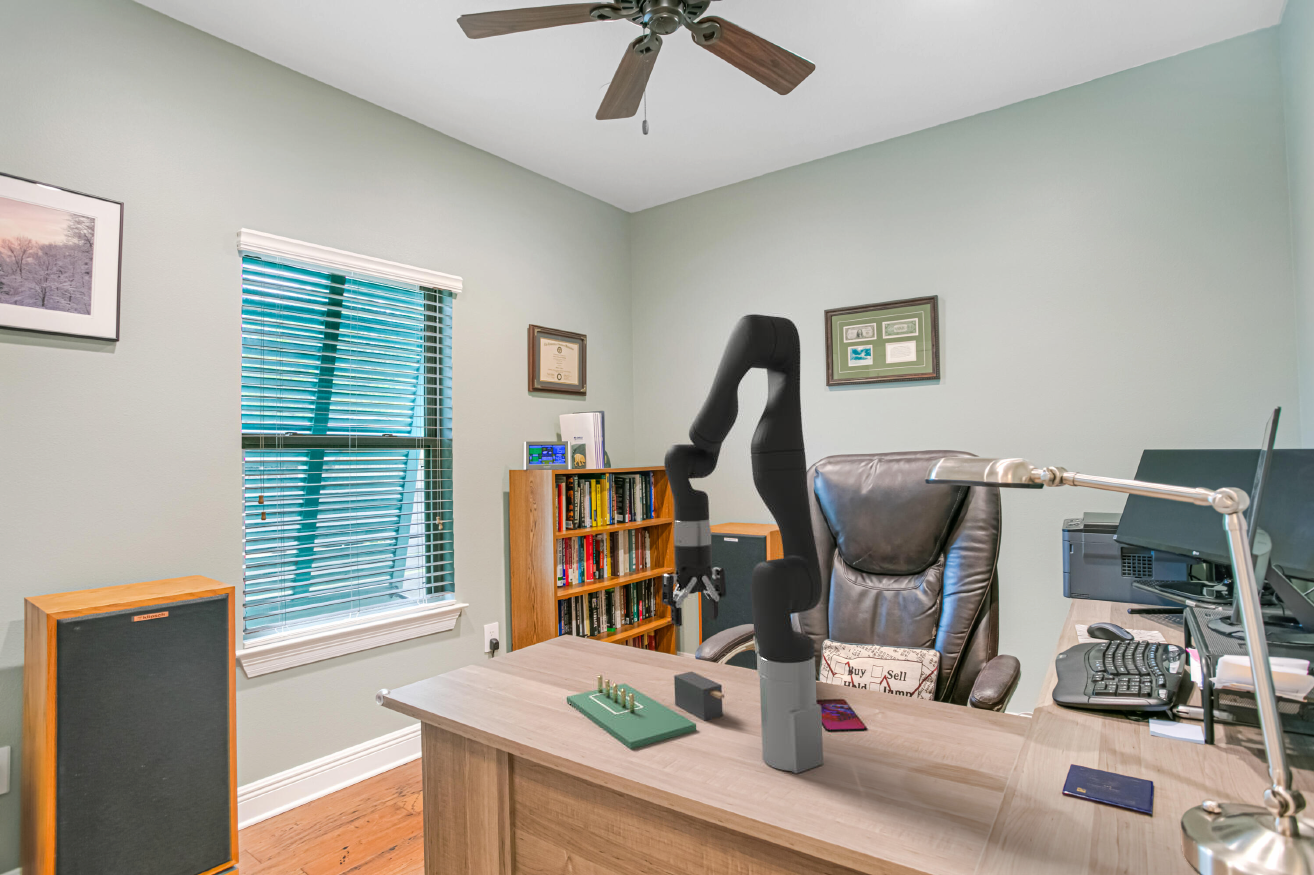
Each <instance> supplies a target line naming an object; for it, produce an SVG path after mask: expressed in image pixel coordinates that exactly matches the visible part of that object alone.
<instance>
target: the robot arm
mask: <svg viewBox="0 0 1314 875" xmlns="http://www.w3.org/2000/svg"><path fill="white" fill-rule="evenodd" d="M750 369H762V370H763V369H764V370H766V373H767V400H766V404H765V406H764V409H763V412H762V414H761V416H760V419H759V420H758V423H757V425H756V427H755V430H754V433H753V435H752V437H751V438H752V439H751V442H750V455H751V456H750V460H751V471H752V479H753V484H754V487H755V489H756V491H757V493H758V495H759V497H760V498H761V500H762V502H763V503H764V504H765V506H766V508H767V509H768V510H769V512H770V514H771V516H772V517H773V519H774V520H775V523H776V524H777V527H778V530H779V533H780V537H781V545H782V553H783V554H782V555H783V558H776V559H770V560H769V559H768V560H764V561H761V562H759V563H757V564H756V565H755V567H754V569H753V571H752V573H751V578H750V598H751V600H750V601H751V609H752V618H753V619H752V620H753V621H752V622H753V631H754V636H755V637H756V641H757V643H758V647H759V669H760V677H759V690H760V694H759V696H760V717H761V718H760V719H761V721H760V722H761V723H760V724H761V725H760V727H761V742H762V743H761V745H762V746H761V747H762V750H761V752H762V759H763V761H764V763H765V764H766V765H768V766H769V767H772V768H773V769H774V768H775V769H778V770H782V771H787V772H791V773H794V774H799V773H802V772H805V771H807V770H811V769H813V768H816V767H819V766H821V765H823V764H824V748H823V747H824V746H823V744H824V743H823V726H822V716H821V706H820V705H819V704H817V703H816V700H817V684H816V682H817V680H816V679H817V678H816V656H815V655H816V653H815V642H814V639H813V638H812V637H811V636H810V635H808V634H806V633H804V632H800V631H796V630H794V627H793V622H792V617H791V615H792V614H799V613H802V612H808V611H811V610H813V609H815V608H817V606H818V605H819V604H820V601H821V599H822V593H823V579H822V571H821V565H820V560H819V555H818V550H817V545H816V539H815V534H814V530H813V529H814V527H813V521H812V515H811V513H812V512H811V506H810V497H809V487H808V473H807V472H808V471H807V470H808V469H807V460H806V459H807V458H806V449H805V442H804V433H803V420H802V419H803V418H802V403H801V402H802V401H801V340H800V335H799V330H798V328H797V326H796V325H795V323H794V322H793V321H792V320H791V319H790V318H786V317H782V316H774V315H764V314H752V313H751V314H746V315H744V316H742V317H741V318H739V319H738V321H737V322H736V323H735V325H734V326H733V329H732V331H731V333H730V335H729V337H728V340H727V342H726V346H725V347H724V350H723V353H722V356H721V359H720V362H719V364H718V368H717V369H716V373H715V377H714V378H713V381H712V385H711V387H710V390H709V392H708V393H707V394H708V395H707V396H706V399H705V401H704V402H703V404H702V406H701V408H700V410H699V411H698V413H697V415H696V416H695V418H694V420H693V421H692V423H691V425H690V427H689V431H688V436H689V439H690V442H692V444H689V443H688V444H684V443H683V444H674V445H671V446H670V447H669V448H668V449H667V451H666V453H665V456H664V464H663V465H664V469H665V474H666V477H667V480H668V484H669V486H670V491H671V494H672V498H673V504H674V505H673V506H674V529H673V538H674V539H673V540H674V541H673V542H674V565H675V568H676V569H675V570H676V571H675V573H673V574H669V573H663V574H662V576H661V604H663V605H667V606H669V607H670V620H671V624H672V623H673V625H674V626H675V627H682V626H683V617H682V616H683V613H682V609H683V608H682V607H681V606H682V604H683V602H684V600H686V599H687V598H688V597H689V595H692V594H696V593H703V594H704V595H705V596H706V598H707V599H708V600H707V601H706V602H707V618H708V620H710V621H716V620H717V618H718V617H719V600H720V599H721V598H725V597H726V596H727V589H726V588H727V587H726V573H725V569H724V568H723V567H718V566H714V567H713V568H712V567H711V565H712V563H713V557H712V552H713V550H712V531H711V529H712V528H711V525H710V508H709V504H710V503H709V496H708V494H707V492H706V491H703V490H701V489H695V488H693V485H692V484H691V481H690V479H703V478H704V479H705V478H706V477H708V476H710V475H712V473H713V472H714V471H715V470H716V468H717V464H718V460H719V456H720V453H721V449H722V445H723V443H724V441H725V439H726V437H727V436H728V435H729V433H730V431H731V430H732V428H734V425H735V423H736V421H737V419H738V418H737V417H738V415H739V396H738V395H739V394H738V392H739V387H740V383H741V381H742V380H743V378H744V377H745V376H746V374H747V373H748V372H749V371H750ZM712 579H713V584H712V583H711V580H712ZM676 583H677V585H676V586H675V584H676ZM674 586H675V588H674Z"/></svg>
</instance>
